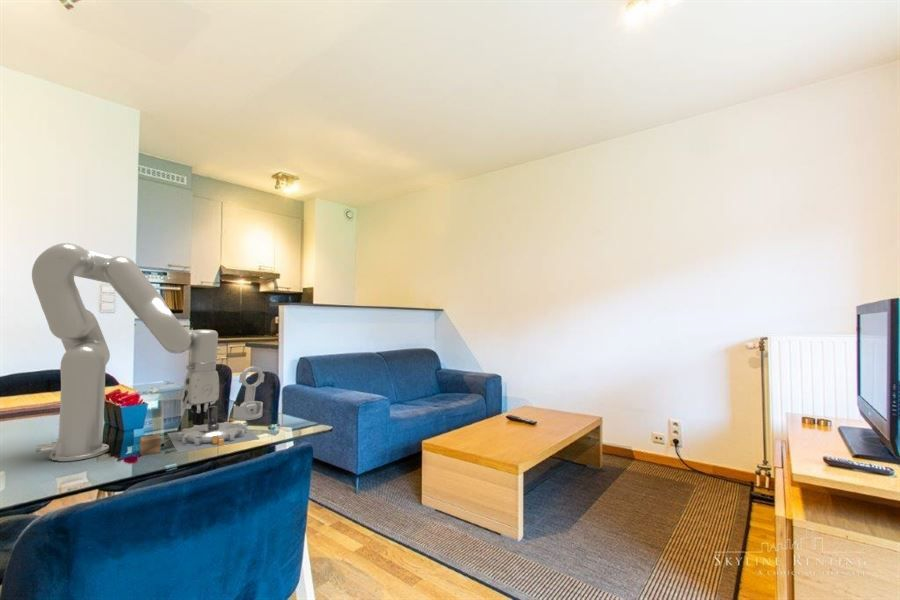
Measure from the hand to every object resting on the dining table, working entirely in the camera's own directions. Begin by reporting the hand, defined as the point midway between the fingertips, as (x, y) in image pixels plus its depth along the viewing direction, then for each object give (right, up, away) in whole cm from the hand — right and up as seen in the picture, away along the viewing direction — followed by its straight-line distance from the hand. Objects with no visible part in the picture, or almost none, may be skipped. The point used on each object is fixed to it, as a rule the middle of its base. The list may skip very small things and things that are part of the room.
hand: (198, 424), depth 135 cm
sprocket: (+6, -3, -2) cm, 7 cm away
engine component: (+5, -6, +24) cm, 25 cm away
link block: (-3, -4, -17) cm, 18 cm away
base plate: (+6, -5, -1) cm, 8 cm away
